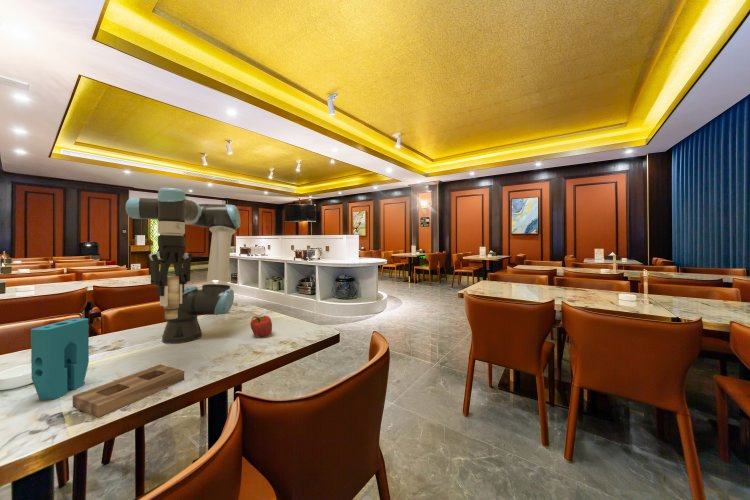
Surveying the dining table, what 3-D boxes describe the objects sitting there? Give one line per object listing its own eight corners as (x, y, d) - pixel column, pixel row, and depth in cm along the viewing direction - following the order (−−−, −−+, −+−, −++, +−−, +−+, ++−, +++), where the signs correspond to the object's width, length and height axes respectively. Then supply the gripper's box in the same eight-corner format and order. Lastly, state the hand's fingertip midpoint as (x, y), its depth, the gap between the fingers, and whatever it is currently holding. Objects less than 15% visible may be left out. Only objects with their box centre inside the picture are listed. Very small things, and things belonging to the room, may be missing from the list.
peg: (160, 318, 97) (160, 276, 97) (173, 316, 101) (173, 275, 101) (169, 320, 95) (169, 277, 95) (182, 317, 99) (182, 276, 99)
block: (74, 381, 91) (74, 318, 91) (90, 382, 91) (90, 318, 91) (29, 402, 79) (28, 329, 79) (48, 403, 79) (47, 329, 79)
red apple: (257, 341, 131) (258, 319, 130) (243, 337, 136) (243, 315, 136) (277, 335, 140) (277, 314, 140) (263, 331, 145) (263, 311, 145)
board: (72, 406, 78) (72, 395, 78) (160, 373, 98) (160, 364, 98) (98, 417, 73) (98, 405, 73) (184, 379, 94) (184, 370, 93)
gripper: (151, 233, 88) (150, 310, 89) (203, 235, 105) (202, 301, 105) (135, 233, 91) (135, 308, 91) (188, 236, 107) (188, 299, 107)
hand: (171, 304), depth 98 cm, fingers closed on peg, 4 cm apart
